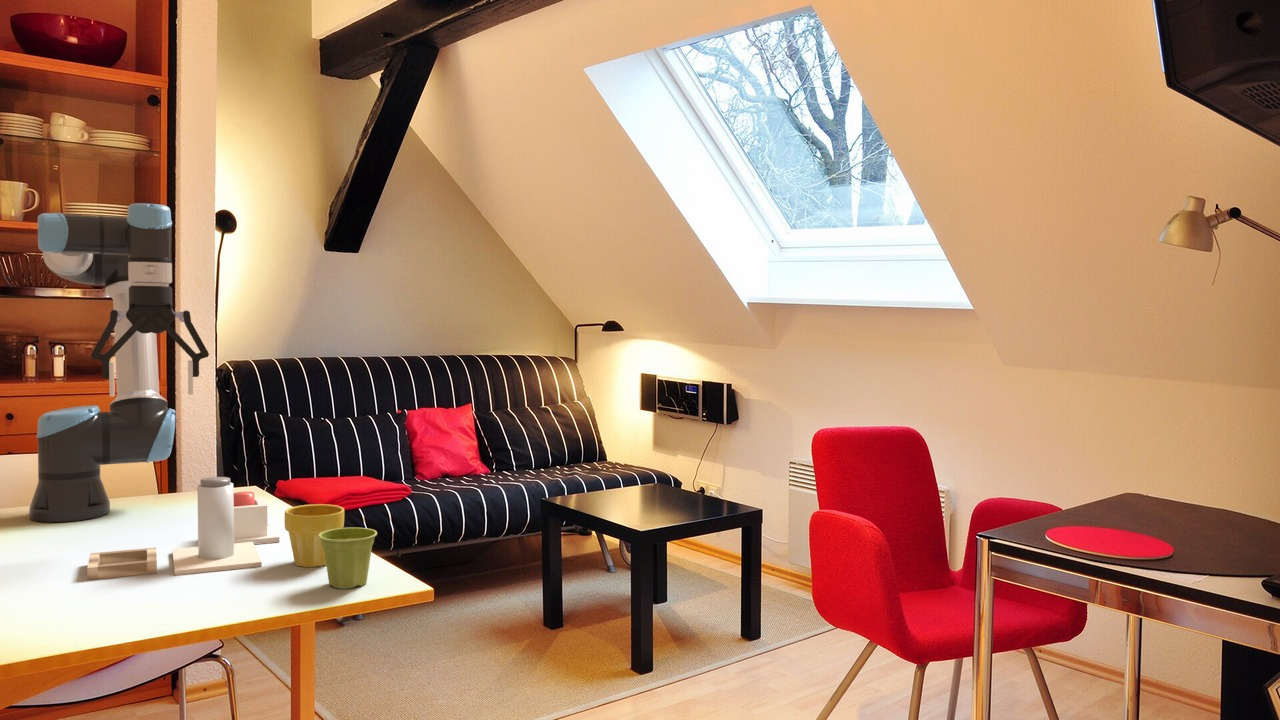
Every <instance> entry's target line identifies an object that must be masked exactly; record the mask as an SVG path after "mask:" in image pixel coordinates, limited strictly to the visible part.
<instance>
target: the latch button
mask: <svg viewBox="0 0 1280 720" xmlns="http://www.w3.org/2000/svg"><path fill="white" fill-rule="evenodd" d="M233 493H234V507H236V506H249V505H254V499H255V492H254V491H237V492H233Z"/></svg>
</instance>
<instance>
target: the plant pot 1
mask: <svg viewBox="0 0 1280 720" xmlns="http://www.w3.org/2000/svg"><path fill="white" fill-rule="evenodd" d="M344 524H345V508H344V507H342V506H339V505H336V504H335V505H334V504H328V503H327V504H324V503H322V504H321V503H318V504H317V503H315V504H304V505H297V506H292V507H288V508H287V509H286V510H285V511H284V529H285V531H287V532H288V535H289V541H290V546H291V550H292V551H291V552H292V556H293V560H294V561H293V562H294V564H295V565H296V566H298V567H301V566H302V567H303V568H317V567H316V566H320V567H324V566H323V565H325V566H326V559H325V553H324V547H323V546H322V541H321V539H320V538H319V534H320V533H321V532H324V531H327V530H332V529H338V528H345V525H344Z"/></svg>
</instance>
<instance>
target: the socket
mask: <svg viewBox="0 0 1280 720" xmlns="http://www.w3.org/2000/svg"><path fill="white" fill-rule="evenodd" d="M86 570H87V571H86V573H87V574H86V576H87V581H89V580H99V579H100V580H101V579H109V578H119V577H131V576H139V575H150V574H157V573H158V561H157V547H148V548H137V549H136V548H135V549H133V548H132V549H124V550H123V549H122V550H113V551H103V552H90V553H89V558H88V562H87V568H86Z"/></svg>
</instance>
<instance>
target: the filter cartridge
mask: <svg viewBox="0 0 1280 720" xmlns="http://www.w3.org/2000/svg"><path fill="white" fill-rule="evenodd" d="M234 493H235V492H234V483H233V482H231V478H230V477H227V476H212V477H204V478H202V479H200V484H198V485H197V547H198V557H199V558H200V559H206V560H215V559H223V558H228V557H231V556H233V555H234Z"/></svg>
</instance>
